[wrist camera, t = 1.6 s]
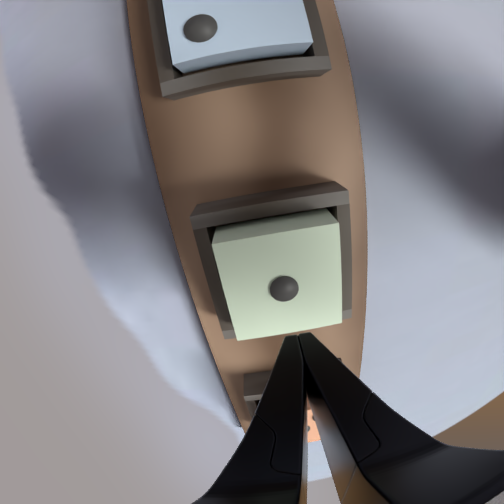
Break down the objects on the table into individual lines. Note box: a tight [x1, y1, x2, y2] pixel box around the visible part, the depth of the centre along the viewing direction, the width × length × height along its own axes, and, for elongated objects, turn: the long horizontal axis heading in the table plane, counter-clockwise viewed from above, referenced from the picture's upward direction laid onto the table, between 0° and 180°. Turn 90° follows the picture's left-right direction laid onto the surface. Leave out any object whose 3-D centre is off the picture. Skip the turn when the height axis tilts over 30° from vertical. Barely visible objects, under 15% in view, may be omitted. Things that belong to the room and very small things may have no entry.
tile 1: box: [212, 208, 342, 341], centre depth 13 cm, size 5×5×2 cm
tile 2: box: [162, 0, 313, 74], centre depth 8 cm, size 5×5×2 cm
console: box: [127, 0, 367, 433], centre depth 15 cm, size 10×36×3 cm, turn 10°
